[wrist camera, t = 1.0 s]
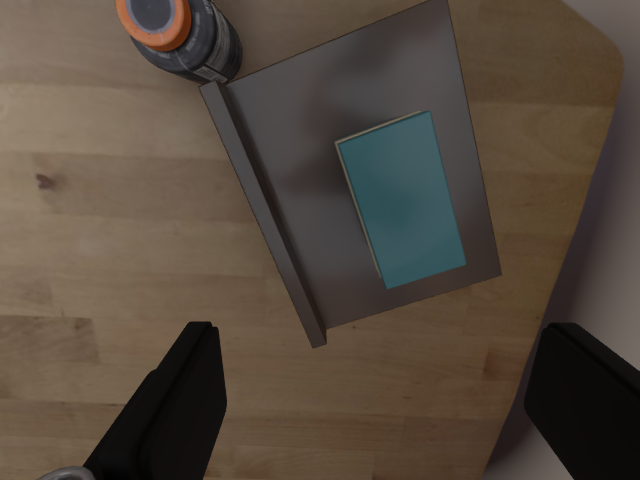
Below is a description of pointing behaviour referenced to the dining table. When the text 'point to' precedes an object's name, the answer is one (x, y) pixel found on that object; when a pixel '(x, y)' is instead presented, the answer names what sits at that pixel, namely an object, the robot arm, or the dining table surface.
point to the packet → (402, 198)
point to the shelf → (325, 168)
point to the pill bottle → (183, 37)
